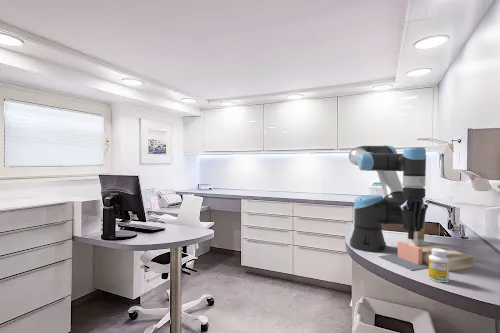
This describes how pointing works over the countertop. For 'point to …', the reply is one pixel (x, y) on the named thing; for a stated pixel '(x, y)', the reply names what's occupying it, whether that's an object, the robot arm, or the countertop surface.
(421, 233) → the skincare box
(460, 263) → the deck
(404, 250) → the salmon pink rectangular block
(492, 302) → the countertop surface
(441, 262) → the supplement bottle
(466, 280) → the countertop surface
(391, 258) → the mat
